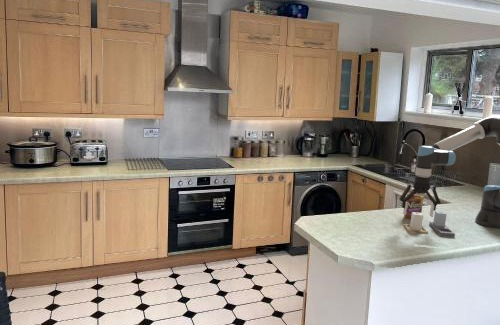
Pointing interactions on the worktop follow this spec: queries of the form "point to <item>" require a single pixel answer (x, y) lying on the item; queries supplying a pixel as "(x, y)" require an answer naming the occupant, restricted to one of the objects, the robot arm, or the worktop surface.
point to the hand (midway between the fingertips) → (417, 215)
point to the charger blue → (439, 218)
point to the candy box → (414, 205)
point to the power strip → (442, 230)
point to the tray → (415, 230)
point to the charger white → (416, 221)
